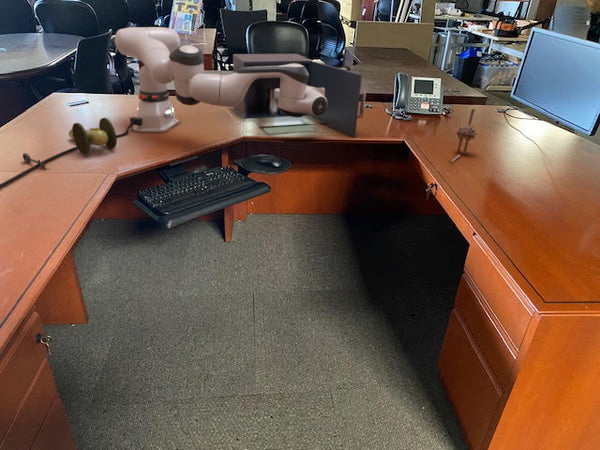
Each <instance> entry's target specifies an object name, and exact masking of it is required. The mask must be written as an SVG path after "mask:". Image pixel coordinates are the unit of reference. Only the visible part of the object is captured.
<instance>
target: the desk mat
mask: <svg viewBox="0 0 600 450" xmlns="http://www.w3.org/2000/svg"><path fill="white" fill-rule="evenodd" d="M261 129H262V130H263V131H264V132H265V133H266V134H267V135H268V136H269V135H282V134H283V135H285V134H293V133H294V134H295V133H308V132H316V130H317V129H314V128H313V127H312V126H310V124H308V123H298V124H296V123H295V124H282V125H281V124H280V125H266V126H265V125H263V126H261Z"/></svg>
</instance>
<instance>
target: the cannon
mask: <svg viewBox="0 0 600 450" xmlns="http://www.w3.org/2000/svg"><path fill="white" fill-rule="evenodd" d="M116 135H117V133H116V130H115V127H114V125H113V124H112V121H111V120H109V118H107V117H102V118H100V120H99V122H98V127H89V129H85V128H84V126H83V125H82V124H81V123H79V122H74V123H73V124H72V126H71V129H70V130H69V131H68V136H69V138H70V139H72V140H73V141H74V144H75V147H77V148H78V149H77V150H78V151H79V152H80V154H81V155H84V156H86V155H89V154H90V152H91V145H93V146H98V147H103V146H106V147H107V148H108V149H110V150H111V149H115V148H116V146H117V144H118V137H117V138H116ZM90 144H91V145H90Z"/></svg>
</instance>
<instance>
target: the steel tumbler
mask: <svg viewBox="0 0 600 450" xmlns="http://www.w3.org/2000/svg"><path fill="white" fill-rule="evenodd" d="M277 88H279V87H274V86H271V87H267V113H268V114H272V115H276V114H279V109H278V107H277V104H278V99H276V98H275V97H274V90H275V89H277Z"/></svg>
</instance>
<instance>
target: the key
mask: <svg viewBox="0 0 600 450" xmlns="http://www.w3.org/2000/svg"><path fill="white" fill-rule="evenodd" d="M22 158H23V161H24V162H25V163H28V164H29V163H31V162H34V163H36V164H40V165H41V166H40V168H41V169H42V170H46V163H45V164H44V163H43V161H44V160H40V159H38V160H36V159H33V158H31V156H30V154H29V153H26V152H24V153H22ZM41 162H42V163H41Z"/></svg>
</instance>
